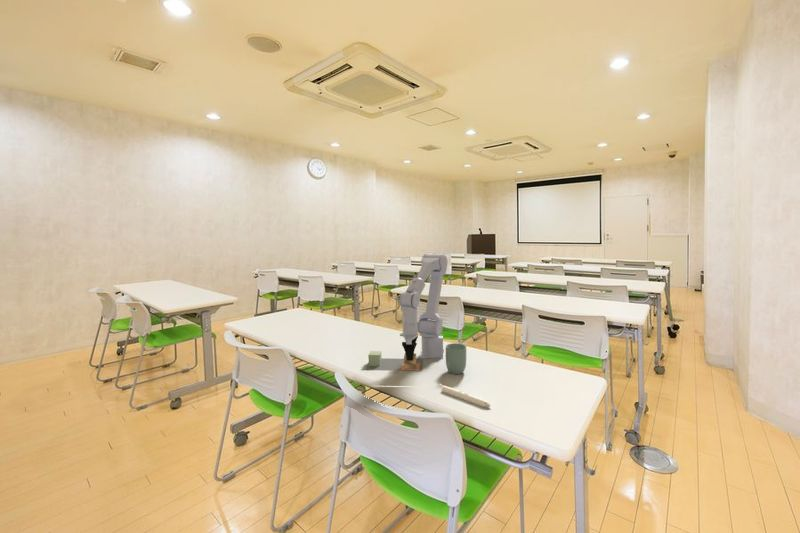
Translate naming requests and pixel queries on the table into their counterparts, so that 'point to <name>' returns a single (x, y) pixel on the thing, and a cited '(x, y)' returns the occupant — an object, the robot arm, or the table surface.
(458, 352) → the cup
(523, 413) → the table surface
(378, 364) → the sage block
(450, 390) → the marker
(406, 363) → the maple block
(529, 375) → the table surface
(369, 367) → the mat
